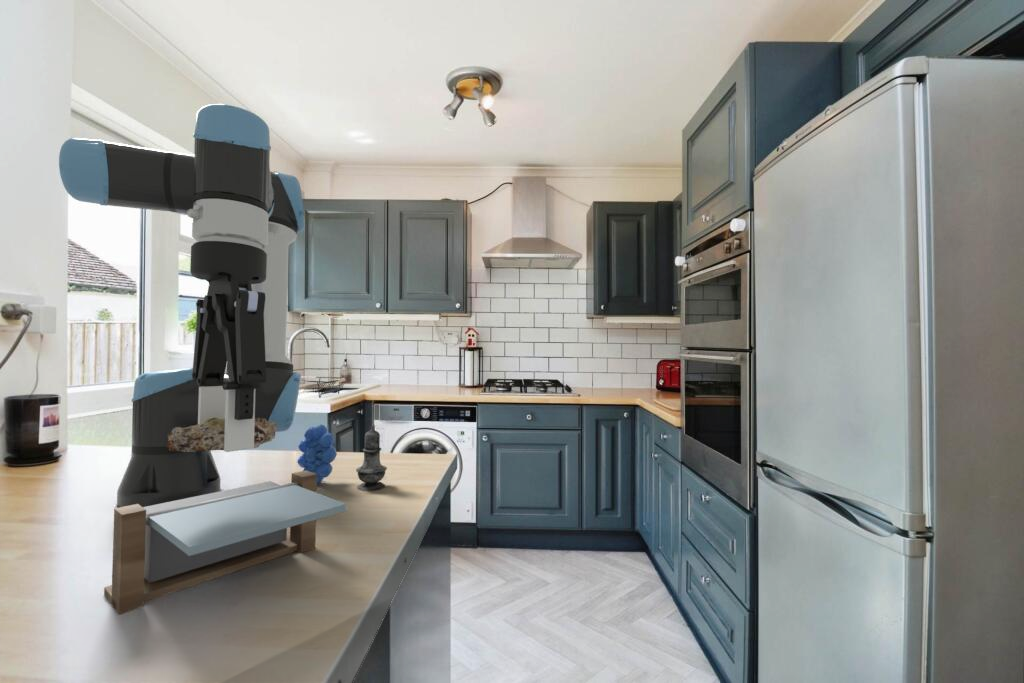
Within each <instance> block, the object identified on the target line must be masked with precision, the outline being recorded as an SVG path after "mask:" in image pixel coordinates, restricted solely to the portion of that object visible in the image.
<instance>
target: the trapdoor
mask: <svg viewBox="0 0 1024 683" xmlns="http://www.w3.org/2000/svg"><path fill="white" fill-rule="evenodd" d="M143 508H144V509H146V535H145V569H144V578H145V579H146V580H147V581H148V582H149V583H151V582H154V581H157V580H161V579H164V578H167V577H170V576H173V575H177V574H180V573H183V572H186V571H190V570H193V569H196V568H199V567H202V566H206V565H209V564H212V563H215V562H219V561H222V560H225V559H228V558H232V557H235V556H238V555H241V554H244V553H248V552H251V551H254V550H257V549H261V548H264V547H267V546H270V545H273V544H277V543H280V542H283V541H286V538H287V533H288V531H287V530H288V528H290V527H292V526H295V525H298V524H302V523H305V522H309V521H312V520H316V521H317V520H319V519H322V518H326V517H329V516H332V515H336V514H340V513H344V512H346V511H347V503H345V502H341V501H339V500H338V499H337V500H336V499H334V498H331V497H329V496H326V495H323V494H321V493H316V492H313V491H310V490H308V489H305V488H302V487H300V486H297V485H295V484H294V483H291V482H289V483H283V484H278V483H275V481H274V482H273V481H271V480H270V481H269V480H268V481H264V482H260V483H255V484H249V485H246V486H240V487H235V488H231V489H224V490H220V491H219V492H215V493H210V494H205V495H200V496H195V497H190V498H185V499H181V500H176V501H171V502H166V503H161V504H156V505H151V506H146V507H143Z"/></svg>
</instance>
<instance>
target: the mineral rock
mask: <svg viewBox="0 0 1024 683" xmlns="http://www.w3.org/2000/svg"><path fill="white" fill-rule="evenodd" d="M277 427H278V425H277V424H276V423H274V421H273V422H269V421H267V419H265V418H259V417H258V418H255V427H254V449H257V448H259V447H260V445H263V444H265V443H269V442H272V441H273V439H275V437H276V433H277V432H276V429H277ZM224 436H225V419H218V418H211V419H209V420H207V421H206V422H204V423H203V424H201V423H200V424H198V425H195V426H190V427H187V428H181V427H176V428H174V429H172V431H171V433H170V434H168V435H167V437H168V439H169V440H168V441H169V442H168V443H167V444H166V446H167V447H168V448H169V451H183V452H190V451H194V452H201V451H210V450H211V451H224Z"/></svg>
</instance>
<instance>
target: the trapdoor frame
mask: <svg viewBox="0 0 1024 683" xmlns="http://www.w3.org/2000/svg"><path fill="white" fill-rule="evenodd" d="M290 480H291V482H290V483H294V484H295V485H297V486H300V487H302V488H305V489H308V490H310V491H313V492H316V493H317V487H318V486H317V485H318V484H317V474H315V473H312V472H309V471H306V470H305V471H303V470H301V471H296V472H291V479H290ZM316 526H317V519H316V520H312V521H309V522H305V523H302V524H298V525H295V526H292V527H289V528H290V531H289V532H288V531H287V538H286V541H283V542H280V543H277V544H273V545H270V546H267V547H264V548H261V549H257V550H254V551H251V552H248V553H244V554H241V555H238V556H235V557H232V558H228V559H225V560H222V561H219V562H215V563H212V564H209V565H206V566H202V567H199V568H196V569H193V570H190V571H186V572H183V573H180V574H177V575H173V576H170V577H167V578H164V579H161V580H157V581H154V582H151V583H149V582H148V581H147V580H146V579H145V578H144V569H145V535H146V509H144V508H143V507H142V506H140V505H139V504H134V505H129V506H124V507H120V506H118V507H115V508H114V511H113V538H112V539H113V540H112V541H113V542H112V569H111V570H112V571H111V574H112V575H111V576H112V577H111V584H110V585H108V586H104V588H103V593H104V597H105V598H106V599H107V601H109V603H110V604H111V605H112V607H113V608H114V610H115V611H116V612H117V614H118V615H122V614H125V613H127V612H130V611H134V610H136V609H139V608H141V607H144V603H145V602H147V601H150V600H154V599H156V598H158V597H163V596H165V595H169V594H171V593H174V592H177V591H181V590H184V589H187V588H189V587H191V586H195V585H198V584H201V583H205V582H208V581H210V580H214V579H216V578H219V577H223V576H226V575H227V574H232V573H234V572H238V571H241V570H243V569H246V568H248V567H252V566H256V565H259V564H261V563H264V562H267V561H271V560H274V559H276V558H280V557H283V556H285V555H288V554H292V553H294V551H295V552H299V553H304V552H307V551H310V550H314V549H316V535H317V534H316V533H317V532H316V531H317V530H316V529H317V527H316Z"/></svg>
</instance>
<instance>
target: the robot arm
mask: <svg viewBox="0 0 1024 683" xmlns="http://www.w3.org/2000/svg"><path fill="white" fill-rule="evenodd" d="M194 127H195V128H194V132H193V134H192V138H193V139H194V145H193V146H194V147H193V149H194V151H193V152H194V153H193V154H187V153H182V152H174V151H166V150H160V149H155V148H148V147H142V146H136V145H128V144H123V143H116V142H111V141H110V142H109V141H105V140H103V139H99V138H98V139H97V138H96V139H90V138H89V139H88V138H81V137H72V138H71V137H70V138H68V139H67V140H66V141H64V143H62V145H61V147H60V151H59V156H58V167H59V168H58V169H59V176H60V179H61V183H62V185H63V187H64V189H65V191H66V193H67V194H68V195H69V196H71V197H72V198H73V199H74V200H76V201H79V202H84V203H89V204H96V205H100V206H106V207H107V206H111V207H112V206H113V207H120V208H121V207H123V208H131V209H138V210H139V209H141V210H142V209H143V210H151V211H152V210H153V211H160V212H161V211H162V212H171V213H176V214H179V215H182V216H183V215H184V216H187V217H189V218H190V219H192V223H191V224H192V227H191V228H192V230H191V237H192V238H193V239H194V240H195V241H196V242H194V243H193V244H192V245H191V246H190V265H189V266H190V268H189V269H190V271H189V272H190V275H191V276H192V277H194V278H196V279H198V280H202V281H203V280H205V281H207V282H208V287H207V288H208V289H207V292H206V295H204V297H203V299H200V298H198V299H197V300H196V303H195V306H196V326H195V327H196V328H195V337H194V338H195V339H194V349H193V350H194V351H193V352H194V353H193V363H192V367H183V368H173V369H165V370H157V371H156V370H155V371H149V372H144V373H142V374H140V375H138V376H137V378H135V380H134V386H133V396H132V398H131V403H132V412H131V413H132V415H131V417H132V420H131V422H132V424H131V455H130V456H131V457H130V460H129V463H128V465H127V467H126V469H125V472H124V474H123V477H122V479H121V481H120V483H119V486H118V489H117V493H116V505H117V506H118V507H124V506H129V505H134V504H139V505H140V506H142V507H146V506H151V505H156V504H161V503H166V502H171V501H176V500H181V499H185V498H190V497H195V496H200V495H205V494H210V493H215V492H220V491H221V476H220V473H219V470H218V467H217V464H216V462H215V458H214V457H213V453H212V450H210V451H201V452H194V451H190V452H183V451H169V448H168V447H167V446H166V444H167V443H168V442H169V441H168V440H169V439H168V437H167V435H168V434H170V433H171V431H172V429H174V428H176V427H181V428H187V427H190V426H195V425H198V424H200V423H201V424H203V423H204V422H206V421H207V420H209V419H211V418H218V419H225V436H224V450H223V452H225V453H230V452H237V451H245V450H246V451H247V450H253V449H255V448H254V427H255V418H258V417H259V418H265V419H267V421H269V422H273V421H274V423H276V424H277V425H278V427H277V429H276V432H275V433H279V432H280V433H281V432H286V431H288V430H290V429H291V427H292V426H293V424H294V419H295V416H296V410H297V409H296V408H297V404H298V398H299V391H300V387H301V386H300V385H301V380H302V379H301V378H302V374H301V373H299V372H297V371H294V363H293V362H292V361H291V360H290V359H289V358H288V357H287V355H286V351H287V350H286V348H287V345H286V344H287V317H288V316H287V314H288V287H289V286H288V281H289V252H290V250H289V246H290V245H291V244H292V243H294V242H295V241H296V240H297V239H298V233H302V232H304V231H305V217H304V215H305V214H304V204H303V203H304V202H303V195H302V190H301V184H300V181H299V180H298V178H297V177H296V176H294V175H292V174H287V173H283V172H279V171H277V170H274V171H271V168H270V154H271V150H272V147H271V144H270V141H271V140H270V128H269V126H268V124H267V122H266V121H265V120H264V119H263V118H262V117H260V116H259V115H258V114H255V112H252V111H250V110H248V109H245V108H242V107H239V106H235V105H230V104H223V103H214V104H207V105H205V106H202V107H201V108H200V109H198V111H197V112H196V119H195V126H194Z"/></svg>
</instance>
